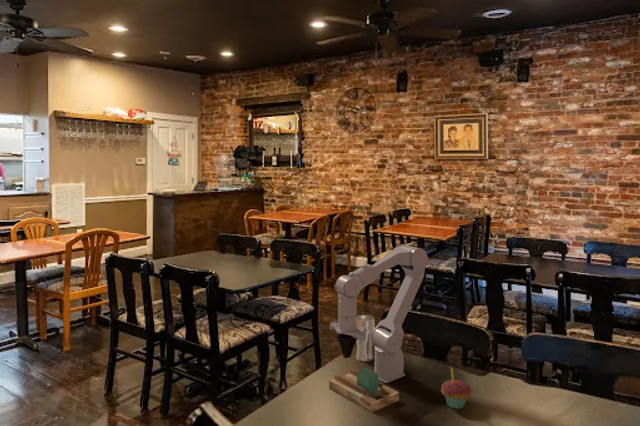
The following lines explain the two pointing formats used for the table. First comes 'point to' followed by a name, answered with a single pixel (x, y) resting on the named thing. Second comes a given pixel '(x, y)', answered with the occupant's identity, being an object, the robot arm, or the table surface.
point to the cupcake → (455, 392)
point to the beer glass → (365, 347)
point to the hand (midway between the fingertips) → (347, 356)
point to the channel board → (363, 392)
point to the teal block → (367, 380)
